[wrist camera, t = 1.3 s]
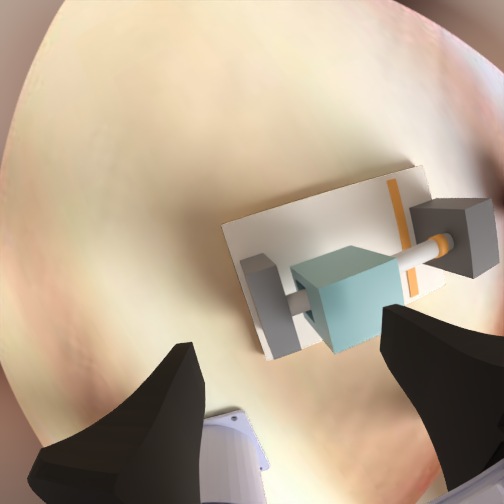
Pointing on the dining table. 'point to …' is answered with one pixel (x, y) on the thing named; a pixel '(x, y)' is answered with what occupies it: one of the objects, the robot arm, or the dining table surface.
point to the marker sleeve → (348, 294)
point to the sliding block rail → (359, 235)
